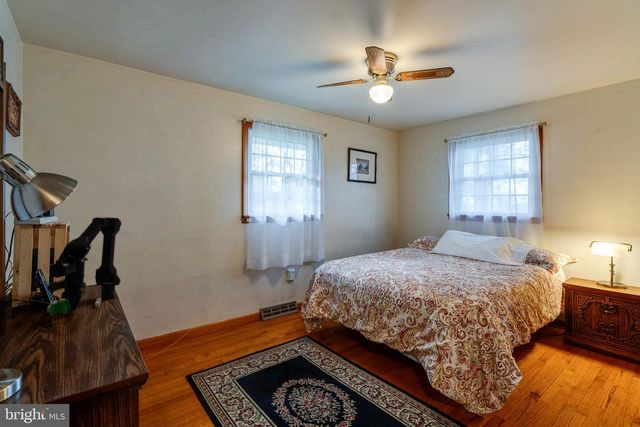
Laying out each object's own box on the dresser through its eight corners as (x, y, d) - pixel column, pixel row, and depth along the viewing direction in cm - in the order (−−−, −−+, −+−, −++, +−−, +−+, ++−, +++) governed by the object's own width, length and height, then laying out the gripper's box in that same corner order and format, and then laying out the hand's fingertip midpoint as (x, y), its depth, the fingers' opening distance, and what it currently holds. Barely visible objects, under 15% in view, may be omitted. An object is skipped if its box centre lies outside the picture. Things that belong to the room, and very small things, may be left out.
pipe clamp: (59, 316, 121) (59, 305, 121) (49, 316, 121) (50, 304, 121) (79, 307, 133) (80, 297, 133) (71, 307, 132) (71, 297, 132)
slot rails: (52, 305, 134) (52, 300, 134) (101, 300, 143) (101, 296, 143) (46, 312, 124) (47, 308, 124) (99, 307, 133) (99, 303, 133)
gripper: (54, 270, 129) (52, 306, 129) (44, 278, 114) (42, 320, 114) (87, 268, 136) (85, 303, 135) (82, 276, 120) (80, 315, 120)
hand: (73, 310), depth 126 cm, fingers closed
